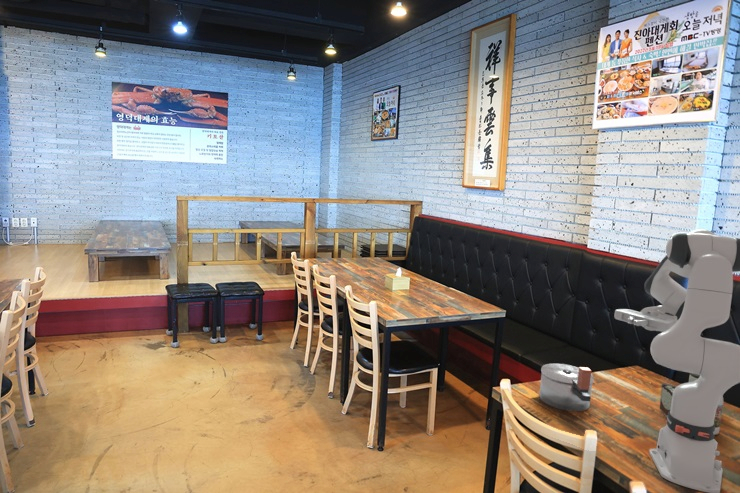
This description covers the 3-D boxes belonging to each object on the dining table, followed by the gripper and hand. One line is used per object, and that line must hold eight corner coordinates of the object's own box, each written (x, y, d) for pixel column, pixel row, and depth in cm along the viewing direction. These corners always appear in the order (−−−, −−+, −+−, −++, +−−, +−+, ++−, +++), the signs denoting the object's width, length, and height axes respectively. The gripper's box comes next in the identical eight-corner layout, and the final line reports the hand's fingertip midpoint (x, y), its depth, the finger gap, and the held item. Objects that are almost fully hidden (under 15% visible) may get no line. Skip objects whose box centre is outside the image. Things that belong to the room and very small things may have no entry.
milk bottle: (686, 425, 173) (695, 371, 170) (703, 423, 175) (711, 370, 173) (707, 436, 166) (716, 380, 163) (724, 434, 168) (733, 378, 165)
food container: (689, 424, 174) (693, 397, 173) (670, 421, 175) (674, 395, 174) (675, 409, 186) (679, 384, 185) (658, 406, 187) (661, 382, 186)
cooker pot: (530, 388, 197) (533, 364, 196) (573, 390, 198) (576, 366, 197) (558, 419, 171) (562, 392, 170) (608, 421, 172) (612, 394, 171)
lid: (534, 364, 196) (536, 344, 195) (581, 368, 195) (583, 348, 194) (557, 391, 170) (560, 368, 169) (610, 394, 170) (613, 372, 169)
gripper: (626, 303, 193) (606, 306, 186) (682, 317, 176) (662, 321, 169) (624, 319, 194) (604, 322, 186) (679, 334, 177) (659, 338, 169)
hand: (632, 322), depth 177 cm, fingers closed
